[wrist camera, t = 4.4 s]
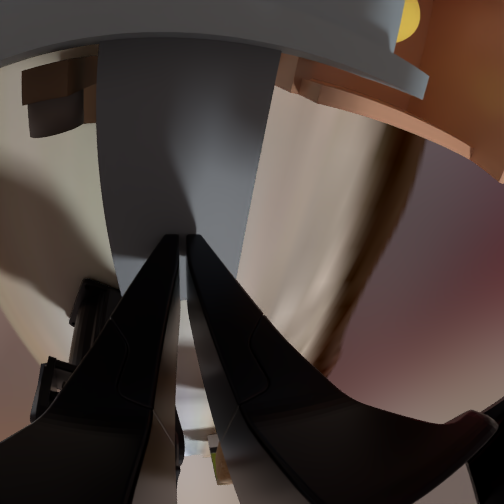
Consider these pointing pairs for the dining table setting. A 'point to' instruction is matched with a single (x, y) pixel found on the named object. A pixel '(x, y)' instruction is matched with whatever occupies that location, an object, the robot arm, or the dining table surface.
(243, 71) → the grey flat piece
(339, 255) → the dining table surface
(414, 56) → the brown boxy piece
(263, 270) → the dining table surface
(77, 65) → the lever stand
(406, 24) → the ball
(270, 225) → the dining table surface
